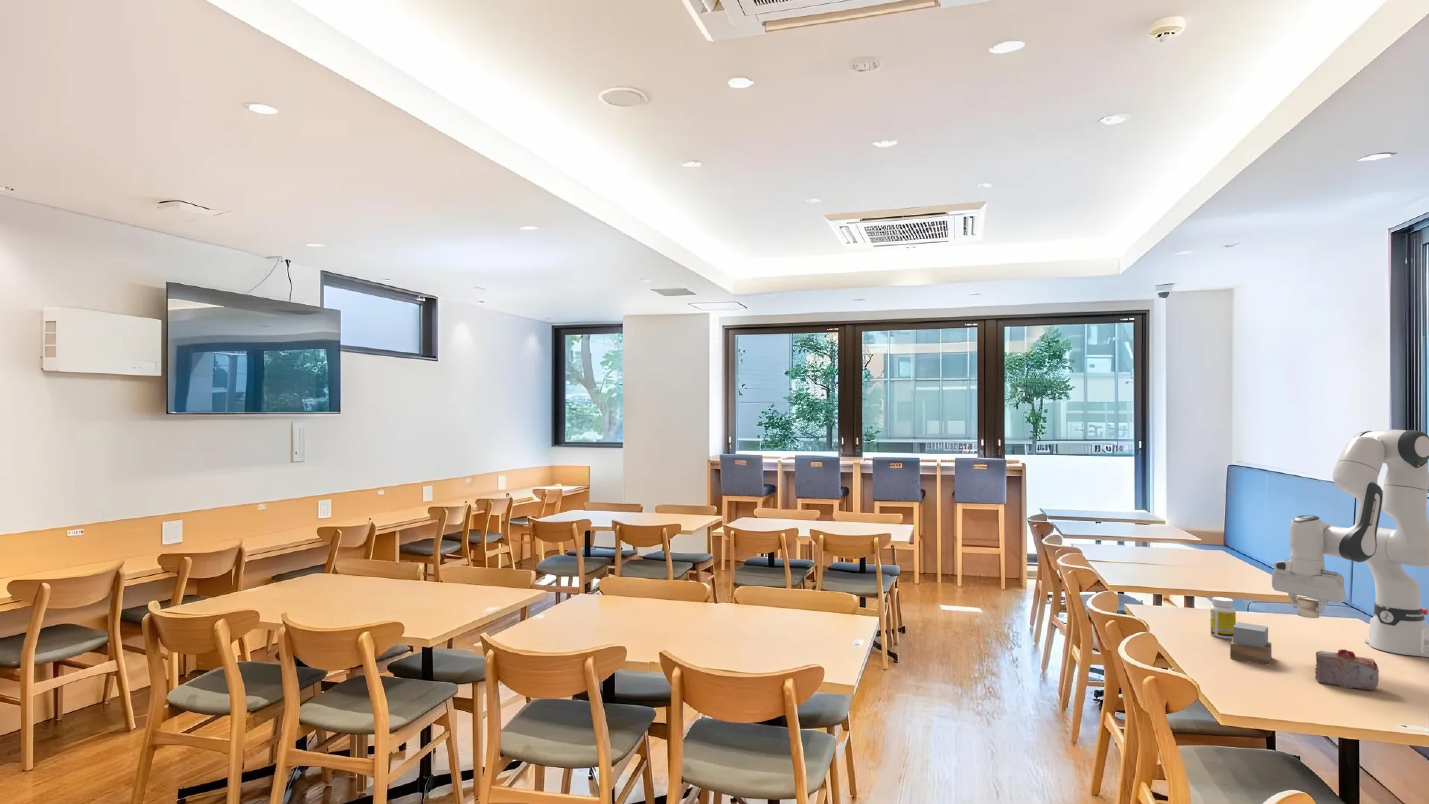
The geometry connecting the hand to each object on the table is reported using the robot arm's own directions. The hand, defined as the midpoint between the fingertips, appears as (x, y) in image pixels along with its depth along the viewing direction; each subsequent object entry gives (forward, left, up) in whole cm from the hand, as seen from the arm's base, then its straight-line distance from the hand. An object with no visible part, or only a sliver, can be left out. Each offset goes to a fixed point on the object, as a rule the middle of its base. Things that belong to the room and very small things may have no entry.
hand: (1308, 610), depth 247 cm
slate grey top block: (+20, -4, -9) cm, 23 cm away
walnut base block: (+21, -4, -14) cm, 25 cm away
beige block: (0, 0, -2) cm, 2 cm away
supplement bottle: (+6, -24, -14) cm, 29 cm away
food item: (+20, +22, -14) cm, 33 cm away
